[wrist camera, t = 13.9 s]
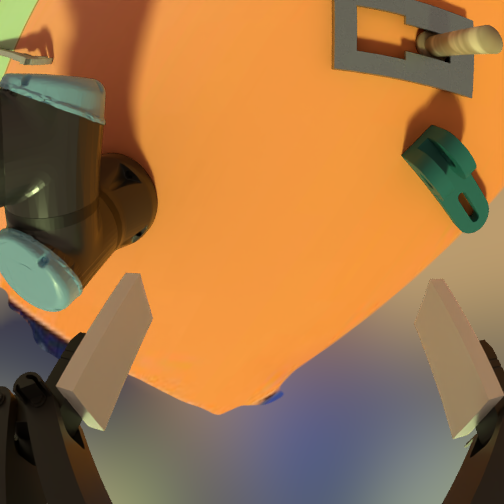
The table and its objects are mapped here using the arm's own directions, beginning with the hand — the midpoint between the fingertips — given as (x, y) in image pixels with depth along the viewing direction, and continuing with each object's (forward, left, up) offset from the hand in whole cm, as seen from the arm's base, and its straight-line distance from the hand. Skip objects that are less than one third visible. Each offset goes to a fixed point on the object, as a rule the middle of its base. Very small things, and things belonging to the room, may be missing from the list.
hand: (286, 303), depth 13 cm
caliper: (-46, +22, -31) cm, 60 cm away
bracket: (+25, -2, -31) cm, 40 cm away
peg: (+19, +18, -31) cm, 40 cm away
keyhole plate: (+15, +18, -31) cm, 39 cm away
